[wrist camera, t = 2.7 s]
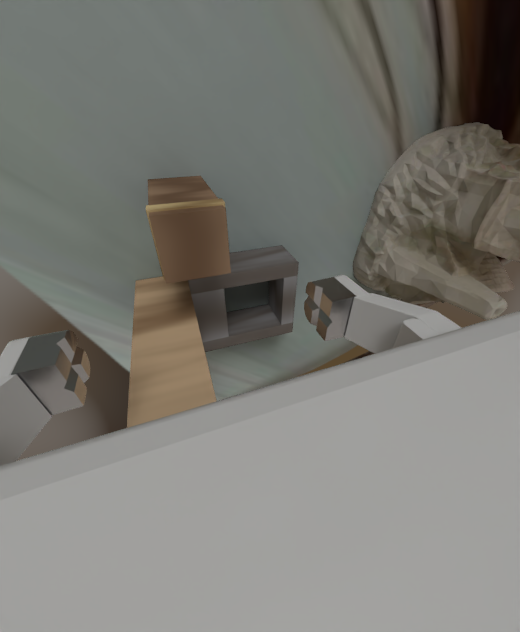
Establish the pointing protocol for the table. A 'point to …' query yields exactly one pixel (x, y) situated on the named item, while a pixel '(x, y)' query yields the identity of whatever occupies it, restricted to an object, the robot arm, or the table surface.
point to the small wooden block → (188, 228)
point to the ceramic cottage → (446, 221)
